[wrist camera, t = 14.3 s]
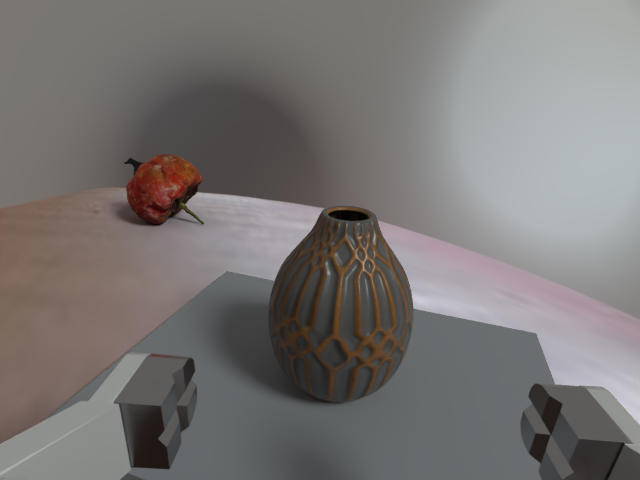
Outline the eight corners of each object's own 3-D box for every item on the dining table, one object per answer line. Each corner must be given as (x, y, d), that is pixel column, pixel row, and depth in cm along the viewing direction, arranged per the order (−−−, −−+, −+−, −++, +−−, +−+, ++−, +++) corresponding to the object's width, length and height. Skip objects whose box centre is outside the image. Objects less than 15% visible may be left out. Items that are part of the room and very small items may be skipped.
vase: (254, 346, 22) (252, 195, 18) (362, 325, 24) (378, 189, 21) (292, 447, 16) (299, 252, 12) (430, 405, 18) (466, 234, 15)
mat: (29, 445, 16) (26, 434, 16) (227, 278, 30) (226, 271, 30) (656, 687, 10) (664, 675, 10) (533, 341, 25) (535, 333, 24)
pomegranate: (210, 230, 46) (148, 172, 45) (237, 189, 42) (170, 125, 41) (166, 259, 40) (94, 192, 39) (193, 215, 35) (113, 140, 35)
